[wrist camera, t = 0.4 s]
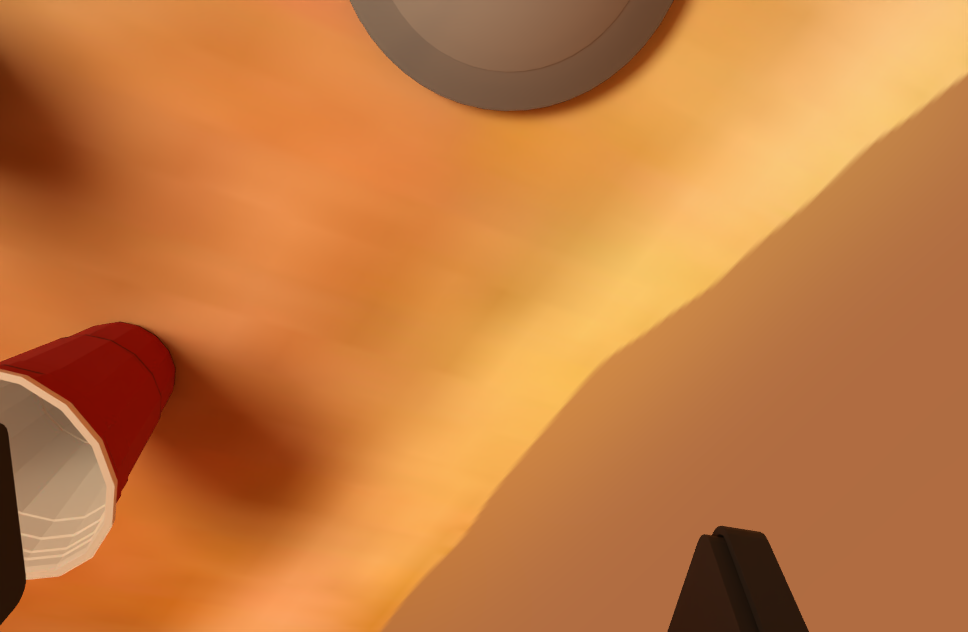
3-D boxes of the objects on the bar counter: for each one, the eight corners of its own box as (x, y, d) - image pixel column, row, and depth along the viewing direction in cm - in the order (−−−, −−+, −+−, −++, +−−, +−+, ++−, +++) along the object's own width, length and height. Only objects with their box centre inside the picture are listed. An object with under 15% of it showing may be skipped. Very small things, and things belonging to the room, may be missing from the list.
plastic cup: (157, 248, 40) (19, 340, 29) (250, 410, 44) (159, 545, 33) (-3, 311, 42) (-188, 419, 31) (99, 461, 46) (-35, 604, 35)
